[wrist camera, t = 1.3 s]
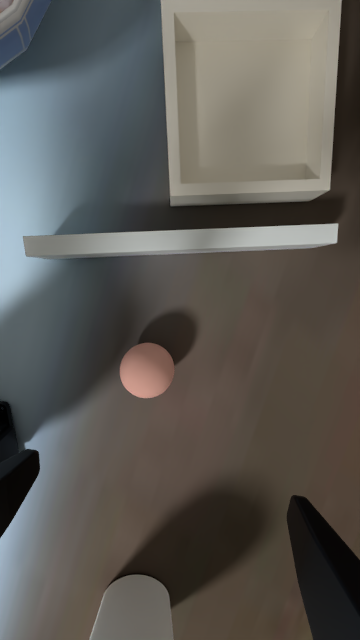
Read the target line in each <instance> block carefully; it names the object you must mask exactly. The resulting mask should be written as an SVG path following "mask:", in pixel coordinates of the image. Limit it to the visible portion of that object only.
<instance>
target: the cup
mask: <svg viewBox="0 0 360 640" xmlns="http://www.w3.org/2000/svg"><path fill="white" fill-rule="evenodd" d="M89 640H174V638H173V628H172V618H171V608H170V598H169V594H168V591H167V589H166V588H165V586H164V585H163V584H162V583H160V582H159V581H158V580H156V579H154V578H152V577H149V576H146V575H128V576H125V577H122V578H120V579H118V580H116V581H114V582H113V583H112V584H111V585H110V586H109V587H108V588H107V589H106V591H105V593H104V596H103V599H102V602H101V605H100V608H99V611H98V614H97V618H96V621H95V624H94V627H93V630H92V633H91V636H90V639H89Z"/></svg>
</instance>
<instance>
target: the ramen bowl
mask: <svg viewBox="0 0 360 640" xmlns="http://www.w3.org/2000/svg"><path fill="white" fill-rule="evenodd" d="M51 1H52V0H0V69H1V68H3V67H4V66H5V65H7V64H8V63H9V62H11V61H12V60H14V59H15V58H16V57H18V56H19V55H20V54H22V53H23V52H24V51H26V50H27V48H28V46H29V44H30V42H31V40H32V38H33V36H34V34H35V32H36V30H37V28H38V26H39V24H40V22H41V20H42V18H43V16H44V15H45V13H46V11H47V9H48V7H49V5H50V3H51Z"/></svg>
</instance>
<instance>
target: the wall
mask: <svg viewBox="0 0 360 640" xmlns="http://www.w3.org/2000/svg"><path fill="white" fill-rule="evenodd" d="M337 233H338V224H317V225H292V226H267V227H243V228H218V229H193V230H169V231H144V232H119V233H95V234H70V235H45V236H23V241H24V247H25V254H26V256H28V257H35V258H43V259H69V258H92V257H115V256H139V255H162V254H185V253H208V252H232V251H255V250H278V249H302V248H314V247H319V246H324V245H329V244H334V243H337Z"/></svg>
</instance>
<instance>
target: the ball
mask: <svg viewBox="0 0 360 640" xmlns="http://www.w3.org/2000/svg"><path fill="white" fill-rule="evenodd" d="M120 377H121V381H122V383H123V385H124V386H125V388H126V389H127V390H128V391H129V392H130V393H132V394H133V395H135V396H137V397H141V398H152V397H155V396H158V395H160V394H162V393H163V392H164V391H165V390H166V389H167V388H168V387H169V386H170V384H171V382H172V380H173V377H174V363H173V360H172V357H171V356H170V354H169V353H168V351H167V350H166V349H164V348H163V347H161V346H160V345H157V344H154V343H142V344H138V345H136V346H134V347H132V348H131V349H130V350H129V351H128V352H127V353H126V354H125V356H124V357H123V359H122V362H121V365H120Z"/></svg>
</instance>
